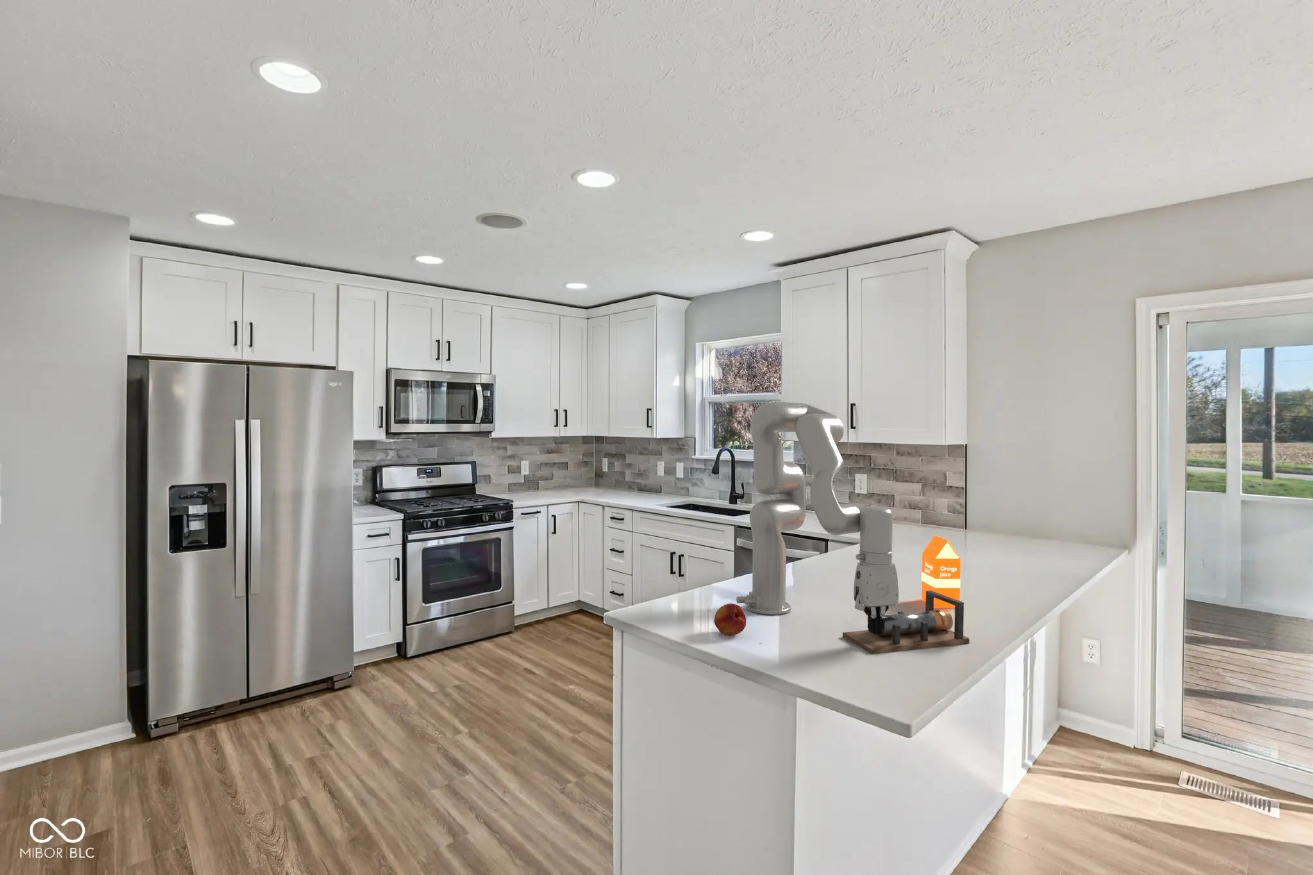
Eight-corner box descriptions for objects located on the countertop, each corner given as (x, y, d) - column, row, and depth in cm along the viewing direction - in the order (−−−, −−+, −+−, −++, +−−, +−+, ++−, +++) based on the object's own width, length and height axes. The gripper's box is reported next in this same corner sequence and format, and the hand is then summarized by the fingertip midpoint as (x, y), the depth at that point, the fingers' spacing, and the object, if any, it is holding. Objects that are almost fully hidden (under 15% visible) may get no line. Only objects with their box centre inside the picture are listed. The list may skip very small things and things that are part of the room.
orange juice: (945, 599, 195) (946, 535, 195) (960, 607, 186) (961, 540, 186) (920, 599, 195) (921, 535, 194) (934, 607, 186) (935, 540, 186)
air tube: (885, 639, 154) (885, 618, 154) (872, 632, 159) (873, 612, 159) (952, 632, 160) (953, 612, 160) (938, 626, 165) (938, 606, 165)
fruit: (720, 641, 155) (721, 609, 155) (709, 631, 163) (709, 600, 163) (750, 638, 157) (750, 607, 157) (737, 628, 165) (737, 598, 165)
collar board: (871, 653, 148) (872, 610, 148) (842, 637, 159) (843, 596, 159) (969, 643, 156) (970, 602, 156) (934, 628, 167) (935, 589, 167)
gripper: (857, 562, 149) (856, 640, 149) (911, 559, 153) (910, 634, 153) (840, 556, 156) (839, 630, 156) (892, 553, 160) (891, 625, 160)
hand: (874, 632), depth 155 cm, fingers closed
